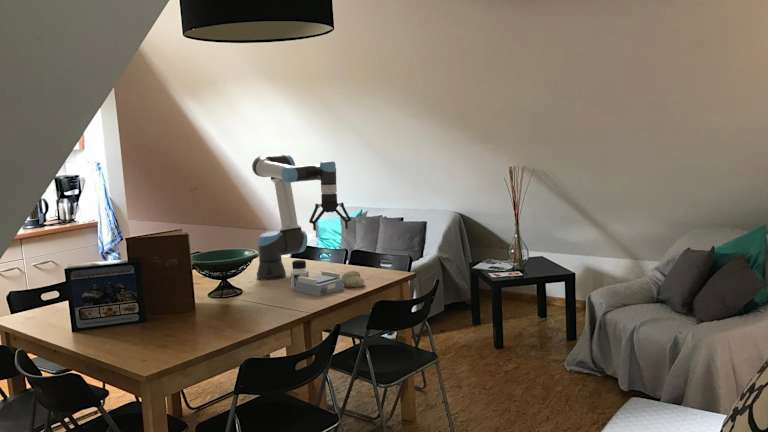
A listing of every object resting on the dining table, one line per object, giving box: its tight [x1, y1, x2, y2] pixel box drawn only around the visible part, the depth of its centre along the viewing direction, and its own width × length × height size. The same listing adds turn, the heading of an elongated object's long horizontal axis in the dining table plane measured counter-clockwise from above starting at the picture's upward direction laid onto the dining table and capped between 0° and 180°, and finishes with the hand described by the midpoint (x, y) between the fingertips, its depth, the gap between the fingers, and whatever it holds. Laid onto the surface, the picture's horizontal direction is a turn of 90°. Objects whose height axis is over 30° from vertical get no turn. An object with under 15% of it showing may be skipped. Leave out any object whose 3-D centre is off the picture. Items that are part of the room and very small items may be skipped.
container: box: [290, 259, 310, 289], centre depth 330 cm, size 8×8×13 cm
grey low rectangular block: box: [295, 270, 344, 297], centre depth 321 cm, size 17×16×7 cm
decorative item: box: [340, 270, 365, 289], centre depth 327 cm, size 12×9×10 cm
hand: (330, 236), depth 329 cm, fingers open, 13 cm apart
